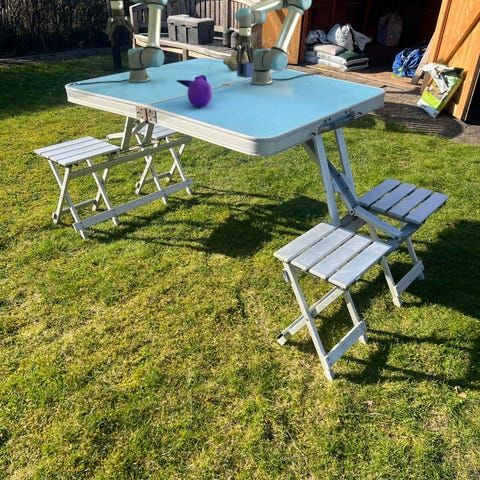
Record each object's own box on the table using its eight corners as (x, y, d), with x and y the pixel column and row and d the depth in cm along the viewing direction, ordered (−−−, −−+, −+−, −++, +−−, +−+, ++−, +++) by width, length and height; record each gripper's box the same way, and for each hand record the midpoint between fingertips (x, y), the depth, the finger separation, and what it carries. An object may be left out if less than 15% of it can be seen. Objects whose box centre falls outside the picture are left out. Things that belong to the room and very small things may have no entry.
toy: (200, 97, 287) (212, 112, 266) (174, 93, 280) (184, 108, 259) (206, 72, 279) (218, 86, 258) (178, 67, 272) (189, 80, 251)
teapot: (227, 72, 362) (226, 52, 355) (220, 70, 371) (219, 51, 363) (249, 69, 371) (249, 50, 364) (242, 67, 380) (242, 48, 372)
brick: (246, 78, 292) (246, 64, 287) (237, 76, 298) (237, 62, 293) (253, 76, 296) (253, 62, 291) (244, 74, 301) (244, 61, 297)
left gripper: (101, 9, 272) (107, 47, 283) (138, 7, 286) (142, 43, 297) (96, 9, 277) (102, 46, 288) (132, 7, 291) (136, 42, 302)
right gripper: (237, 36, 276) (238, 76, 288) (260, 34, 287) (260, 71, 299) (229, 36, 281) (230, 74, 292) (252, 33, 292) (252, 70, 304)
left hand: (122, 45), depth 292 cm, fingers open, 13 cm apart
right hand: (245, 73), depth 296 cm, fingers closed on brick, 7 cm apart
